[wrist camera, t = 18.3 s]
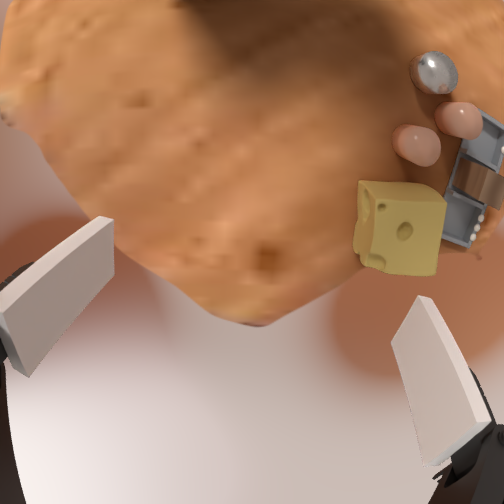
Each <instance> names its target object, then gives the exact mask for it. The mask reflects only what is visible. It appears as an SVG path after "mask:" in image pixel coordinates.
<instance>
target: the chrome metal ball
mask: <svg viewBox="0 0 504 504" xmlns="http://www.w3.org/2000/svg"><path fill="white" fill-rule="evenodd" d="M409 71H410V77H411V79H412V81H413V83H414V84H415V86H416V87H417V88H418V89H419V90H421V91H422V92H424V93H427V94H447V93H450V92H452V91H453V90H454V89H455V87H456V85H457V82H458V73H457V69H456V67H455V65H454V63H453V62H452V60H451V59H450V58H449V57H448V56H446V55H445V54H443V53H441V52H438V51H431V52H428V53H425V54H422V55H419V56H417V57H415V58H414V59H413V60H412V62H411V64H410V68H409Z"/></svg>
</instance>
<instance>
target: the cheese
mask: <svg viewBox="0 0 504 504" xmlns="http://www.w3.org/2000/svg"><path fill="white" fill-rule="evenodd" d="M357 209H358V220H357V222H356V224H355V231H354V236H353V243H352V245H353V250H354V252H355V253H356V254H359V255H360V261H361V263H362V264H363V265H364V266H365V267H371V268H375V269H377V270H379V271H381V272H383V273H387V274H392V275H409V276H434V275H435V274H436V270H437V262H438V254H439V248H440V243H441V237H442V231H443V225H444V220H445V214H446V209H447V202H446V201H445V200H444V199H443V197H442V196H441V195H440V194H439V193H438V192H437V191H436V190H434V189H433V188H431V187H429V186H427V185H425V184H420V183H411V182H380V181H366V180H359V181H358V198H357Z"/></svg>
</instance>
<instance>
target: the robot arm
mask: <svg viewBox="0 0 504 504" xmlns="http://www.w3.org/2000/svg"><path fill="white" fill-rule="evenodd" d="M113 276H114V219H110V218H106V217H102V216H98V217H97V218H95V219H94V220H92V221H91V222H90V223H88V224H86V225H85V226H83V227H82V228H81V229H80V230H78V231H76V232H75V233H74V234H73V235H71V236H69V237H68V238H67V239H65V240H64V241H63V242H61V243H60V244H59V245H57V246H56V247H55V248H53V249H52V250H51V251H49V252H48V253H47V254H46V255H44V256H43V257H41V258H40V259H39V260H38V261H36V262H31V263H29V264H26V265H24V266H22V267H20V268H19V269H18V270H17V271H15V272H14V273H13V274H12V276H9V277H8V278H7V279H6V280H5V282H2V283H1V284H0V504H26V501H25V498H24V494H23V490H22V487H21V483H20V479H19V475H18V470H17V466H16V461H15V456H14V451H13V445H12V440H11V432H10V425H9V417H8V406H7V394H6V373H5V366H4V363H3V361H4V360H5V359H6V358H7V357H8V358H9V360H10V362H11V364H12V366H13V368H14V369H16V370H17V371H19V372H20V373H22V374H23V375H25V376H27V377H30V375H31V374H32V373H33V372H34V370H35V369H36V367H37V366H38V365H39V364H40V362H41V361H42V360H43V358H44V357H45V356H46V354H47V353H48V352H49V351H50V349H51V348H52V347H53V346H54V344H55V343H56V342H57V341H58V339H59V338H60V337H61V336H62V335H63V333H64V332H65V331H66V330H67V328H68V327H69V326H70V325H71V324H72V322H73V321H74V320H75V319H76V318H77V317H78V315H79V314H80V313H81V312H82V311H83V310H84V308H85V307H86V306H87V305H88V304H89V303H90V301H91V300H92V299H93V298H94V297H95V296H96V294H98V292H99V291H100V290H101V289H102V288H103V287H104V286H105V285H106V283H107V282H108V281H109V280H110V279H111V278H112V277H113ZM391 345H392V348H393V351H394V354H395V357H396V361H397V364H398V367H399V371H400V374H401V377H402V381H403V384H404V387H405V391H406V395H407V398H408V402H409V406H410V410H411V414H412V417H413V422H414V426H415V430H416V434H417V439H418V443H419V448H420V452H421V458H422V462H423V467H427V466H436V465H440V464H441V463H443V462H444V461H445V460H446V459H448V458H449V457H451V461H452V463H451V464H450V465H448V466H447V467H445V468H444V469H443V470H441V471H440V472H438V473H437V474H436V475H435V476H434V477H433V478H432V479H434V480H435V479H436V478H438V477H439V476H440V475H443V476H442V478H441V479H440V480H438V481H437V482H438V483H439V484H438V486H437V488H436V490H435V492H434V494H433V496H432V497H431V499H430V501H429V503H428V504H504V425H503V424H498V425H497V424H496V422H495V419H494V416H493V414H492V411H491V409H490V406H489V404H488V402H487V399H486V397H485V396H484V392H483V390H482V388H480V383H479V381H478V379H477V377H476V375H475V374H474V373H473V371H472V370H471V369H470V368H469V367H468V366H467V363H466V361H465V359H464V357H463V355H462V353H461V351H460V349H459V347H458V345H457V344H456V342H455V340H454V338H453V336H452V334H451V333H450V331H449V329H448V327H447V325H446V323H445V321H444V320H443V318H442V316H441V314H440V312H439V311H438V309H437V307H436V306H435V304H434V302H433V300H432V299H431V298H428V297H424V296H420V295H418V296H417V298H416V300H415V301H414V303H413V305H412V307H411V309H410V311H409V312H408V314H407V316H406V318H405V319H404V321H403V323H402V324H401V326H400V328H399V329H398V331H397V333H396V334H395V336H394V338H393V339H392V341H391Z"/></svg>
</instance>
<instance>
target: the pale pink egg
mask: <svg viewBox="0 0 504 504" xmlns="http://www.w3.org/2000/svg"><path fill="white" fill-rule="evenodd" d="M435 122H436V125H437V127H438V128H439V129H440V131H441V132H443V133H444V134H447V135H451V136H455V137H459V138H463V139H467V140H474V139H476V138H477V137H478V136H479V135H480V134H481V132H482V128H483V119H482V116H481V113H480V111H479V110H478V109H477V107H476V106H474V105H473V104H471V103H465V102H443V103H441V104H439V105H438V106H437V108H436V110H435Z"/></svg>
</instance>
